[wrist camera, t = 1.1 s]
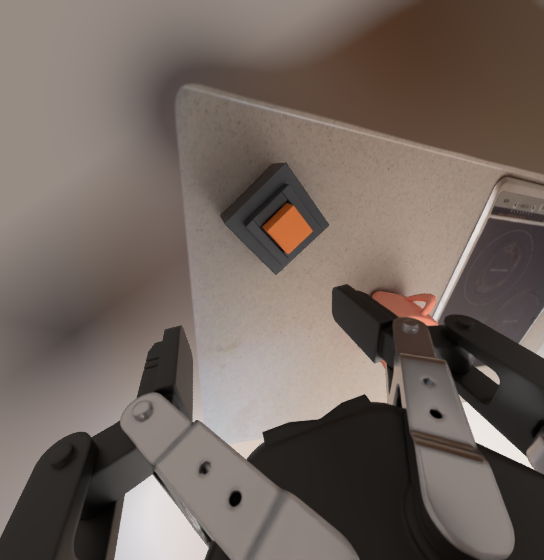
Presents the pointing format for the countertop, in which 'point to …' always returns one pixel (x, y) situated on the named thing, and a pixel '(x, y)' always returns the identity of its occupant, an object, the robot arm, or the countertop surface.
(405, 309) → the teapot
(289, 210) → the key
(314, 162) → the countertop surface
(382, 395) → the countertop surface
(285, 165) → the push button box
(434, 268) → the countertop surface
